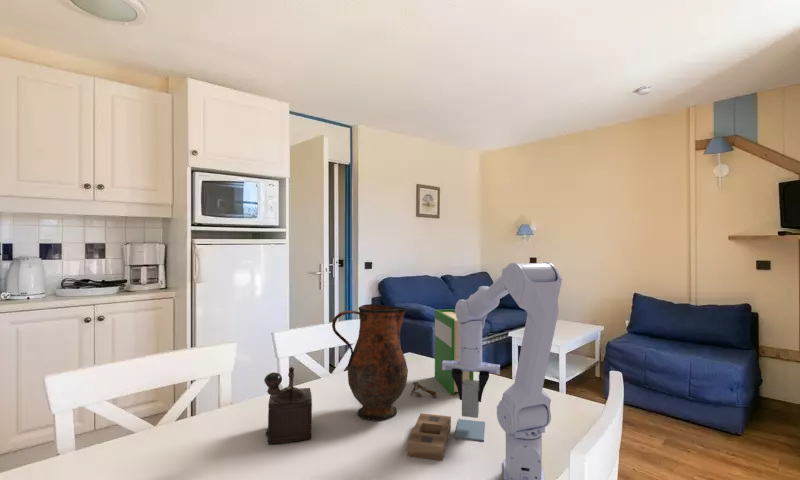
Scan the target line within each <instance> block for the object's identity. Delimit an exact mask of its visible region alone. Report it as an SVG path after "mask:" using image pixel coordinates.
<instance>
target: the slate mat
mask: <svg viewBox="0 0 800 480" xmlns="http://www.w3.org/2000/svg"><path fill="white" fill-rule="evenodd" d="M485 426H486V421H480V420H471V419H463V418H458V420H457V425H456V428H455V429H456V430H455V434H454V438H455V439H461V440H468V441H477V442H485V430H486V427H485Z"/></svg>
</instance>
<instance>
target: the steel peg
mask: <svg viewBox="0 0 800 480" xmlns="http://www.w3.org/2000/svg"><path fill="white" fill-rule="evenodd" d="M478 395H479V380H477V379H476V380H474V379H473V380H466V379H463V383H462V400H461V416H462V417H465V418H466V417H467V418H474V419H478V418H479V413H480V402H478Z"/></svg>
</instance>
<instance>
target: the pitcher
mask: <svg viewBox="0 0 800 480" xmlns="http://www.w3.org/2000/svg"><path fill="white" fill-rule="evenodd" d="M407 310H408V309H407V308H406V307H399V306H389V305H385V304H373V303H369V304H363V305H360V306H359V307H358V309H357V311H356V310H345V311H342V312H341V311H340V312H339V313H337V314H336V315H335V316H334V317H333V319H332V324H331V326H332V331H333V333H334V335H336V337H338V338H339V339H340V340H341V341H342V342H343V343H344V344H345V345H346V346H347V347H348V348H349V350H350V357H349V360H348V365H347V381H348V386H349V388H350V390H351V393H352V394H353V397H354V398H355V399H356V401H358V403H359V404H360V405H361V407H360V408H358V410H357V412H356V413H357V416H358V417H359V418H360V419H363V420H367V421H373V422H374V421H385V420H386V421H387V420H390V419H392V418H393V417H396V415H397V413H398V409H397V408H396V407H395V406H394V405H393V404H394V403H395V402H396V401H397V400H398V399H399V398H400V397H401V395H402V393H403V392H404V390H405V388H406V387H407V381H408V372H409V369H408V366H407V361H406V358H405V355H404V353H403V350H402V345H401V330H402V329H401V328H402V325H403V320H404V316H405V314H406V312H407ZM348 314H356V315H358V317H359V318H358V319H359V328H358V329H359V331H358V337H357V340H356V343H355V346H354V349H353V347H352V346H351V343H350V342H349V341H348V340H347V339H346V338H344V336H342V335H341V334H340V333H339V332H338V330H337V329H336V328H337V327H336V323H337V320H338V319H339V318H340V317H342V316H344V315H348Z"/></svg>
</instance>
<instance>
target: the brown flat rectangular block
mask: <svg viewBox="0 0 800 480" xmlns="http://www.w3.org/2000/svg"><path fill="white" fill-rule="evenodd" d="M451 428H452V415H451V416H449V415H442V414H441V415H439V414H431V413H422V412H421V413H420V414H419V416H418V418H417V420H416V423H415V425H414V427H413V429H412V432H411V433H410V435H409V438H408V440H407V442H406V456H407V457H410V458H411V457H413V458H420V459H426V460H427V459H428V460H435V461H442V462H443V461H444V458H445V457H444V456H445V453H446V449H447V446H448V441H449V437H450V433H451V431H452V430H451Z"/></svg>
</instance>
